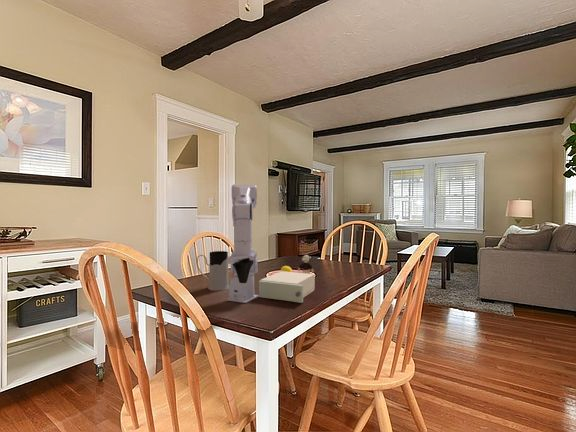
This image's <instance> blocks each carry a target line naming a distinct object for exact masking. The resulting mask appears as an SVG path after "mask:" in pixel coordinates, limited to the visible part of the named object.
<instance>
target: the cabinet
mask: <svg viewBox="0 0 576 432" xmlns="http://www.w3.org/2000/svg"><path fill="white" fill-rule="evenodd" d="M315 275H316V274H315V273H310V274H307V273H302V272H295V271H292V272H285V271H281V270H280V271H279V272H275V273H274V274H272V275H269V276H266V277H264V278H261V279H260V280H259V281H269V282H278V283H288V284H297V285H303V299H304V298H305V297H307V296H308V295H309V294H311V293H312V292H314V291H315V290H316V289H315V288H316V284H315V283H316V281H315V279H316V276H315Z"/></svg>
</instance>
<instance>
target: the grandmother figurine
mask: <svg viewBox="0 0 576 432" xmlns="http://www.w3.org/2000/svg"><path fill="white" fill-rule="evenodd" d="M301 261H303V262H302V263H301V264H299V265H298V268H297V271H298V272H300V271H301V269H302V272H301V273H307V274H315V273H314V272H315V271H314V267H313V266H312V264H310V263H309V262H310V256H309V255H308V254H304V255H303V256H302V258H301Z"/></svg>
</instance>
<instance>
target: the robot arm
mask: <svg viewBox="0 0 576 432" xmlns="http://www.w3.org/2000/svg"><path fill="white" fill-rule="evenodd" d="M257 187H258V186H257V185H256V184H232V185H231V200H232V201H231V202H232V206H231V218H232V219H231V220H232V227H233V251H232V252H231V253H230V256H228V257H227V264H228V265H230V273H231V274H233V275H234V276H233V278H231V279H230V281H229V282H228V284H229V289H228V295H229V296H228V298H227V301H228V302H229V301H230V302H237V303H242V304H246V303H248V302H251V301H252V300H254V299H257V298H260V297H259V294H255V274H257V273H258V271H259V270H258V266H259V265H258V264H259V263H258V252H257V251H256V250H254V249H253V247H252V246H253V241H252V240H253V239H252V237H253V236H252V234H253V233H252V232H253V231H252V229H253V228H252V227H253V225H252V222H253V218H254V209H255V208H256V207H257V199H258V196H257V195H258V192H257V191H258V188H257Z"/></svg>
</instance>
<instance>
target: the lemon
mask: <svg viewBox="0 0 576 432" xmlns="http://www.w3.org/2000/svg"><path fill="white" fill-rule="evenodd" d="M281 271H285V272H293V269H292V268H291V267H290V266H288V265H284V266H281V269H280V272H281Z"/></svg>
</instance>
